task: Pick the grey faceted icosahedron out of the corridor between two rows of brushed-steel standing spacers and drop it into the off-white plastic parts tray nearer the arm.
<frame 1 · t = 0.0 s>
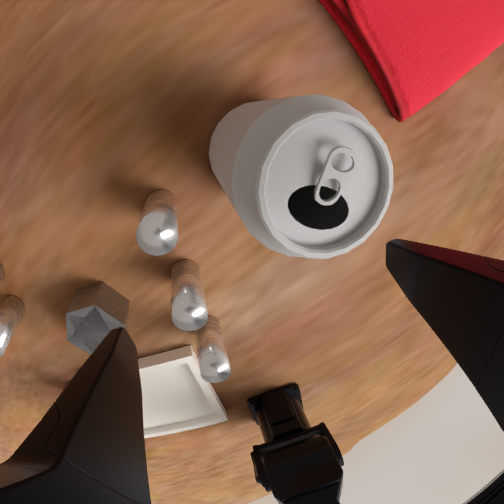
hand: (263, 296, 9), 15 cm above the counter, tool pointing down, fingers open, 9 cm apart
tray: (158, 395, 30), on the counter
spacer posts: (101, 309, 24), on the counter
grey faceted icosahedron: (101, 308, 24), on the counter
can: (257, 150, 22), on the counter
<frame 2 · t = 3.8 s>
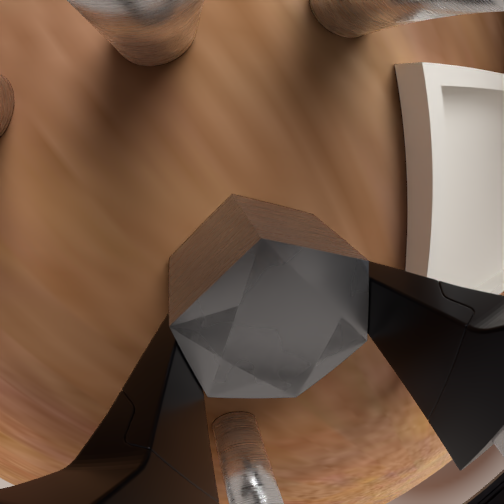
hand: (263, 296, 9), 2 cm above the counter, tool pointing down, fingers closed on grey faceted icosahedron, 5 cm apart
tray: (488, 192, 12), on the counter
spacer posts: (252, 271, 11), on the counter
grey faceted icosahedron: (252, 272, 11), on the counter, touching gripper
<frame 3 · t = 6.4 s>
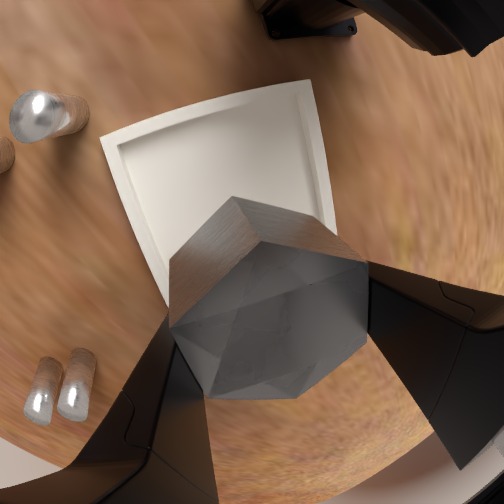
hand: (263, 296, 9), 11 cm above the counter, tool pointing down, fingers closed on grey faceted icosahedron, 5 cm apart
tray: (230, 196, 19), on the counter
spacer posts: (56, 259, 18), on the counter
grey faceted icosahedron: (251, 273, 11), point 10 cm above the counter, touching gripper
when the fingers open (4 cm above the counter, at t = 9.1 s): grey faceted icosahedron drops 1 cm, resting on tray.
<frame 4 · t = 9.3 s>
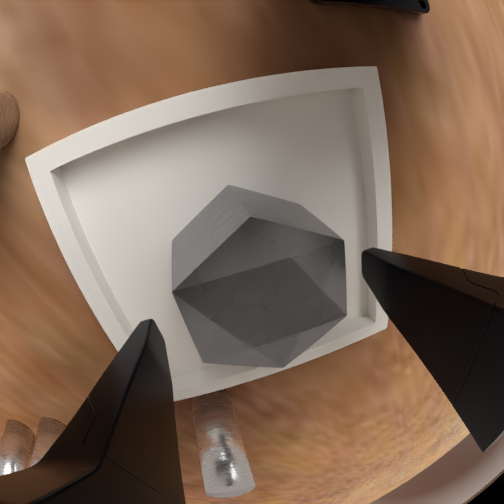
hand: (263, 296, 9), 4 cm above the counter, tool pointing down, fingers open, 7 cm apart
tray: (240, 248, 12), on the counter
spacer posts: (0, 323, 11), on the counter
grey faceted icosahedron: (245, 254, 12), point 1 cm above the counter, touching tray
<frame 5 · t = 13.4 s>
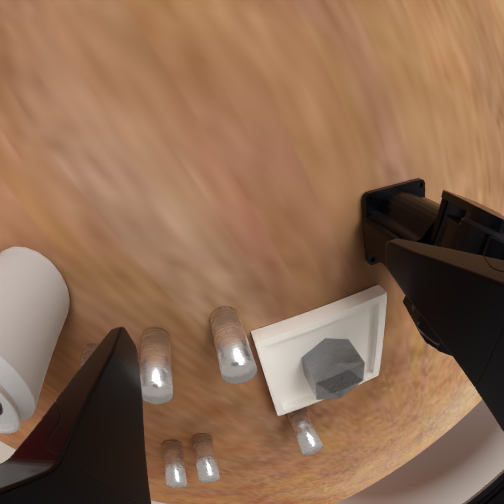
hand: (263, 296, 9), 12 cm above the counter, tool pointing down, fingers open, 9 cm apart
tray: (323, 353, 29), on the counter
spacer posts: (200, 393, 28), on the counter
grey faceted icosahedron: (326, 357, 29), point 1 cm above the counter, touching tray
can: (32, 284, 19), on the counter
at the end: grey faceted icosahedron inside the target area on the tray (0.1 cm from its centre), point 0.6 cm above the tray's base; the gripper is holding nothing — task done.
